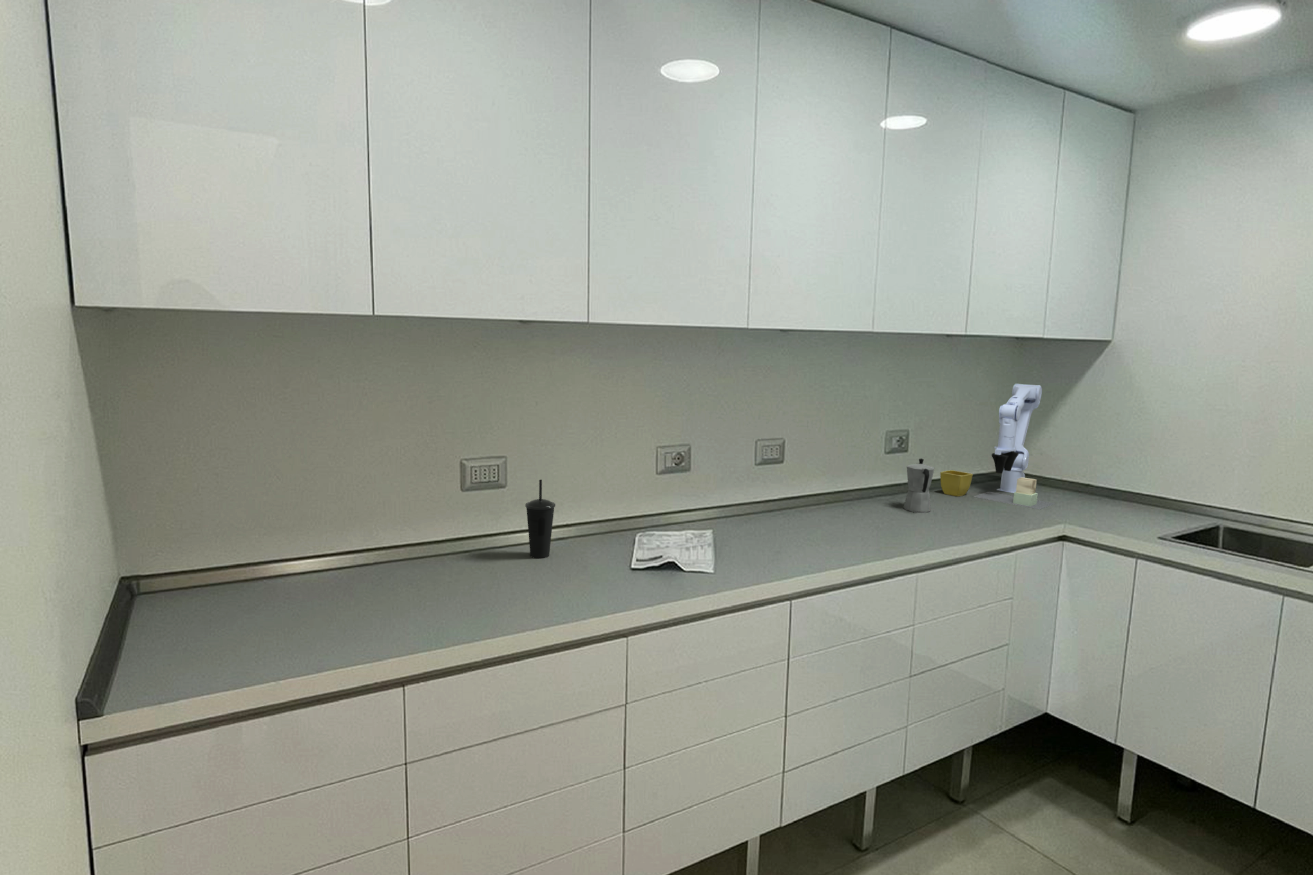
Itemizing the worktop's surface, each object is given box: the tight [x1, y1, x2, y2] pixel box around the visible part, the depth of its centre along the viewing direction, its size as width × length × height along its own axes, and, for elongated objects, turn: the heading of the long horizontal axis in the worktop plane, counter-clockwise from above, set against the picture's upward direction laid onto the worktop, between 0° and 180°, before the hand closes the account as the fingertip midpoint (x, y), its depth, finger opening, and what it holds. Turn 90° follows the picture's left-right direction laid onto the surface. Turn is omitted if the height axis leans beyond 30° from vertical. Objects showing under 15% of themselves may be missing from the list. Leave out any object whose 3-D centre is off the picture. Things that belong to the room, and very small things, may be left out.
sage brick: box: [1013, 492, 1039, 506], centre depth 263 cm, size 6×6×4 cm
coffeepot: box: [903, 458, 936, 513], centre depth 249 cm, size 15×9×18 cm, turn 175°
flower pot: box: [939, 469, 974, 497], centre depth 275 cm, size 9×9×9 cm
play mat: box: [972, 491, 1056, 510], centre depth 269 cm, size 15×24×1 cm, turn 43°
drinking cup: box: [524, 479, 556, 559], centre depth 185 cm, size 8×8×20 cm
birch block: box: [1016, 477, 1038, 495], centre depth 263 cm, size 5×5×5 cm
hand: (1003, 471), depth 274 cm, fingers open, 7 cm apart
